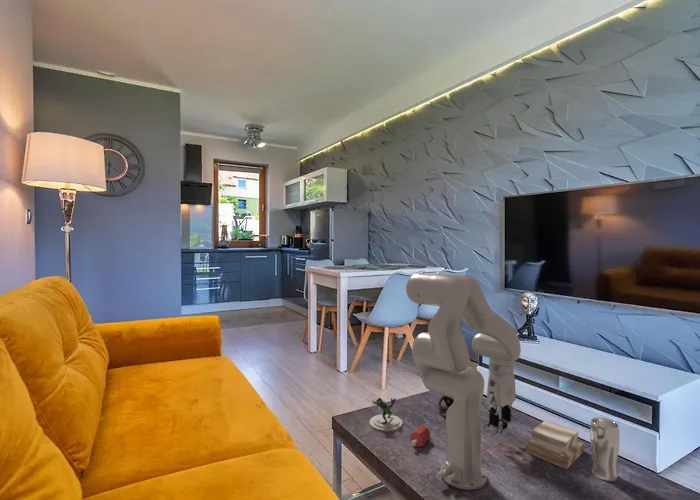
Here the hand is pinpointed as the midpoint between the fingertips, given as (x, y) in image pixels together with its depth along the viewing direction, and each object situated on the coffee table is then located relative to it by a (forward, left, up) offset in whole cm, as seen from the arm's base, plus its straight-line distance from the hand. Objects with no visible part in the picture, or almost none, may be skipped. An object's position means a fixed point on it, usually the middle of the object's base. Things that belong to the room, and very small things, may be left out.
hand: (500, 422), depth 127 cm
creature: (-2, +1, -3) cm, 3 cm away
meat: (-21, +16, -7) cm, 27 cm away
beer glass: (+7, -28, -7) cm, 30 cm away
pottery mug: (+5, +24, -7) cm, 26 cm away
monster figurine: (-21, +33, -7) cm, 40 cm away
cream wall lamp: (+8, -14, -7) cm, 18 cm away
